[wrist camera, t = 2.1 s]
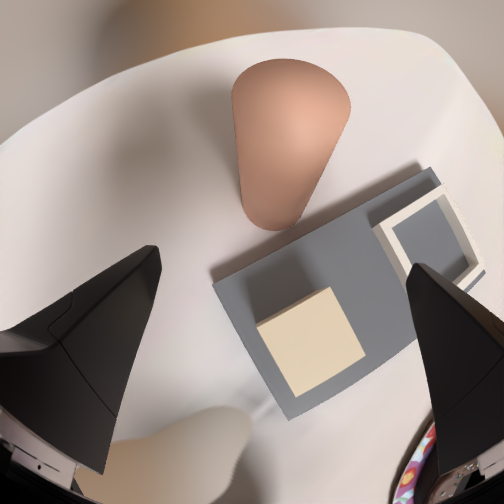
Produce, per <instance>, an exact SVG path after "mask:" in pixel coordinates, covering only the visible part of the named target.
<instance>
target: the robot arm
mask: <svg viewBox="0 0 504 504" xmlns="http://www.w3.org/2000/svg"><path fill="white" fill-rule="evenodd" d="M161 271H162V264H161V259H160V253H159V248H158V247H157V246H154V245H146V246H144V247H142V248H141V249H139V250H137V251H135V252H134V253H132V254H130V255H129V256H127V257H125V258H124V259H122V260H120V261H119V262H117V263H115V264H114V265H112V266H111V267H109V268H107V269H106V270H104V271H102V272H101V273H99V274H98V275H96V276H95V277H93V278H91V279H90V280H88V281H87V282H85V283H84V284H82V285H80V286H79V287H77V288H76V289H74V290H73V292H70V293H68V294H67V295H65V296H64V297H62V298H60V299H59V300H57V301H56V302H54V303H53V304H51V305H49V306H48V307H46V308H44V309H43V310H41V311H39V312H38V313H36V314H34V315H32V316H31V317H29V318H27V319H26V320H24V321H22V322H21V323H19V324H17V325H16V326H14V327H12V328H10V329H7V330H4V331H0V504H102V503H99V502H97V501H94V500H92V499H90V498H87V497H85V496H84V495H83V493H82V491H81V490H80V488H79V486H78V484H77V483H76V480H75V479H74V474H75V470H76V467H77V465H78V466H81V467H83V468H85V469H88V470H90V471H93V472H96V473H98V474H101V475H103V472H104V468H105V464H106V460H107V455H108V451H109V447H110V443H111V439H112V435H113V431H114V427H115V424H116V420H117V419H116V418H117V416H118V412H119V409H120V405H121V402H122V398H123V395H124V391H125V388H126V385H127V382H128V378H129V375H130V372H131V369H132V366H133V363H134V360H135V357H136V354H137V351H138V348H139V345H140V342H141V339H142V336H143V333H144V330H145V327H146V325H147V322H148V319H149V316H150V313H151V311H152V307H153V303H154V299H155V295H156V291H157V287H158V283H159V279H160V276H161ZM406 290H407V295H408V300H409V305H410V310H411V315H412V320H413V324H414V328H415V331H416V335H417V339H418V343H419V347H420V351H421V355H422V359H423V363H424V368H425V372H426V377H427V382H428V387H429V392H430V398H431V404H432V410H433V417H434V423H435V432H436V441H437V451H438V464H439V474H440V476H441V475H444V474H447V473H449V472H452V471H454V470H457V469H459V468H461V467H464V466H466V465H468V464H470V463H472V462H475V461H478V465H479V469H478V470H476V471H474V472H472V473H470V474H468V475H466V476H463V477H462V479H461V481H460V483H459V484H458V486H457V488H456V490H455V492H454V494H453V496H451V497H449V498H447V499H444V500H442V501H440V502H437V503H435V504H504V322H503V321H502V320H500V319H499V318H498V317H497V316H495V315H494V314H493V313H492V312H490V311H489V310H488V309H487V308H485V307H484V306H483V305H481V304H480V303H479V302H478V301H476V300H475V299H474V298H472V297H471V296H470V295H468V294H467V293H466V292H464V291H463V290H462V289H460V288H459V287H458V286H456V285H455V284H453V283H452V282H451V281H449V280H448V279H446V278H445V277H444V276H442V275H441V274H439V273H438V272H436V271H435V270H434V269H432V268H431V267H429V266H428V265H426V264H425V263H414V264H413V265H412V268H411V270H410V272H409V275H408V277H407V280H406Z"/></svg>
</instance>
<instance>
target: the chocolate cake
mask: <svg viewBox="0 0 504 504" xmlns="http://www.w3.org/2000/svg"><path fill="white" fill-rule="evenodd" d="M478 469H479V465H478V461H475V462H472V463H470V464H468V465H466V466H464V467H461V468H459V469H457V470H454V471H452V472H449V473H447V474H444V475H441V476H440V474H439V464H438V451H437V441H436V432H435V423H434V418H433V419H432V420H431V421H430V422H429V424H428V425H427V427H426V429H425V431H424V433H423V436H422V438H421V440H420V442H419V444H418V446H417V448H416V450H415V451H414V453H413V455H412V457H411V459H410V461H409V463H408V464H407V466H406V467H405V469H404V471H403V473H402V474H401V478H400V479H399V482H398V483H397V484H396V485H395V489H394V492H393V497H392V503H391V504H435V503H437V502H440V501H442V500H444V499H447V498H449V497H451V496H453V494H454V492H455V490H456V488H457V486H458V484H459V483H460V481H461V479H462V477H463V476H466V475H468V474H470V473H472V472H474V471H476V470H478Z"/></svg>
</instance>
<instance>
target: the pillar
mask: <svg viewBox="0 0 504 504" xmlns="http://www.w3.org/2000/svg"><path fill="white" fill-rule="evenodd" d="M232 106H233V116H234V126H235V136H236V146H237V155H238V165H239V175H240V185H241V194H242V204H243V209H244V212H245V214H246V216H247V217H248V218H249V220H250V221H251V222H252V223H253V224H255V225H256V226H258V227H260V228H262V229H265V230H270V231H279V230H284V229H286V228H289V227H291V226H292V225H294V224H295V223H296V222H297V221H298V220H299V218H300V217H301V215H302V213H303V211H304V209H305V207H306V205H307V203H308V201H309V199H310V197H311V195H312V193H313V191H314V189H315V187H316V185H317V183H318V181H319V179H320V177H321V175H322V173H323V171H324V169H325V167H326V165H327V163H328V161H329V159H330V157H331V155H332V152H333V150H334V148H335V146H336V144H337V142H338V140H339V138H340V136H341V134H342V132H343V129H344V127H345V125H346V123H347V121H348V119H349V116H350V111H351V104H350V99H349V96H348V94H347V92H346V90H345V88H344V87H343V85H342V84H341V83H340V82H339V81H338V80H337V79H336V78H335V77H334V76H333V75H332V74H330V73H329V72H327V71H326V70H324V69H322V68H320V67H319V66H316V65H314V64H311V63H308V62H305V61H300V60H295V59H273V60H267V61H263V62H260V63H257V64H255V65H253V66H251V67H249V68H248V69H246V70H245V71H244V72H243V73H242V74H241V75H240V76H239V77H238V78H237V80H236V81H235V83H234V85H233V89H232Z"/></svg>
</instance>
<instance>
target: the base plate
mask: <svg viewBox="0 0 504 504" xmlns="http://www.w3.org/2000/svg"><path fill="white" fill-rule="evenodd" d="M414 263H425V264H426V265H428V266H429V267H431V268H432V269H434V270H435V271H436V272H438V273H439V274H441V275H442V276H444V277H445V278H446V279H448V280H449V281H451V282H452V283H453V284H455V285H456V286H458V287H459V288H460V289H462V290H463V291H464V292H466V293H467V292H468V291H469V290H470V289H471V288H472V287H473V286H474V285H475V284H476V283H477V282H478V281H479V280H480V279H481V278H482V277H483V276H484V274H485V270H484V269H485V268H486V265H485V263H484V260H483V258H482V256H481V253H480V251H479V249H478V246H477V244H476V242H475V240H474V238H473V236H472V233H471V231H470V229H469V227H468V225H467V223H466V221H465V219H464V217H463V216H462V214H461V212H460V210H459V208H458V206H457V204H456V203H455V201H454V199H453V197H452V196H451V194H450V192H449V190H448V189H447V187H446V185H445V184H444V183H443V184H441V183H440V181H439V179H438V178H437V176H436V175H435V173H434V171H433V170H432V168H431V167H429V168H427V169H425V170H424V171H422V172H420V173H418V174H416V175H415V176H413V177H411V178H409V179H407V180H406V181H404V182H402V183H400V184H398V185H397V186H395V187H393V188H391V189H389V190H387V191H386V192H384V193H382V194H380V195H378V196H377V197H375V198H373V199H371V200H369V201H367V202H366V203H364V204H362V205H360V206H358V207H356V208H355V209H353V210H351V211H349V212H347V213H345V214H344V215H342V216H340V217H338V218H336V219H334V220H333V221H331V222H329V223H327V224H325V225H323V226H321V227H320V228H318V229H316V230H314V231H312V232H310V233H308V234H307V235H305V236H303V237H301V238H299V239H297V240H295V241H294V242H292V243H290V244H288V245H286V246H284V247H282V248H281V249H279V250H277V251H275V252H273V253H271V254H269V255H267V256H266V257H264V258H262V259H260V260H258V261H256V262H254V263H252V264H251V265H249V266H247V267H245V268H243V269H241V270H239V271H237V272H235V273H234V274H232V275H230V276H228V277H226V278H224V279H222V280H220V281H218V282H216V283H215V284H213V285H212V286H213V288H214V290H215V292H216V294H217V296H218V298H219V300H220V302H221V303H222V305H223V307H224V309H225V311H226V313H227V315H228V317H229V318H230V320H231V322H232V324H233V326H234V328H235V330H236V331H237V333H238V335H239V337H240V339H241V341H242V342H243V344H244V346H245V348H246V350H247V351H248V353H249V355H250V357H251V358H252V360H253V362H254V364H255V366H256V367H257V369H258V371H259V373H260V374H261V376H262V378H263V379H264V381H265V383H266V385H267V386H268V388H269V390H270V391H271V393H272V395H273V396H274V398H275V400H276V401H277V403H278V405H279V406H280V408H281V410H282V411H283V413H284V415H285V416H286V418H287V420H288V421H289V420H291V419H293V418H295V417H297V416H299V415H301V414H303V413H305V412H307V411H308V410H310V409H312V408H314V407H316V406H317V405H319V404H321V403H323V402H325V401H326V400H328V399H330V398H331V397H333V396H335V395H336V394H338V393H340V392H341V391H343V390H345V389H346V388H348V387H349V386H351V385H353V384H354V383H356V382H357V381H359V380H360V379H362V378H363V377H365V376H366V375H368V374H369V373H371V372H372V371H374V370H375V369H377V368H378V367H379V366H381V365H382V364H384V363H385V362H386V361H388V360H389V359H391V358H392V357H393V356H395V355H396V354H397V353H399V352H400V351H401V350H402V349H404V348H405V347H406V346H408V345H409V344H410V343H411V342H413V341H414V340H415V339H416V338H417V335H416V331H415V328H414V324H413V320H412V315H411V310H410V305H409V300H408V295H407V290H406V280H407V277H408V275H409V272H410V270H411V268H412V265H413V264H414Z"/></svg>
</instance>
